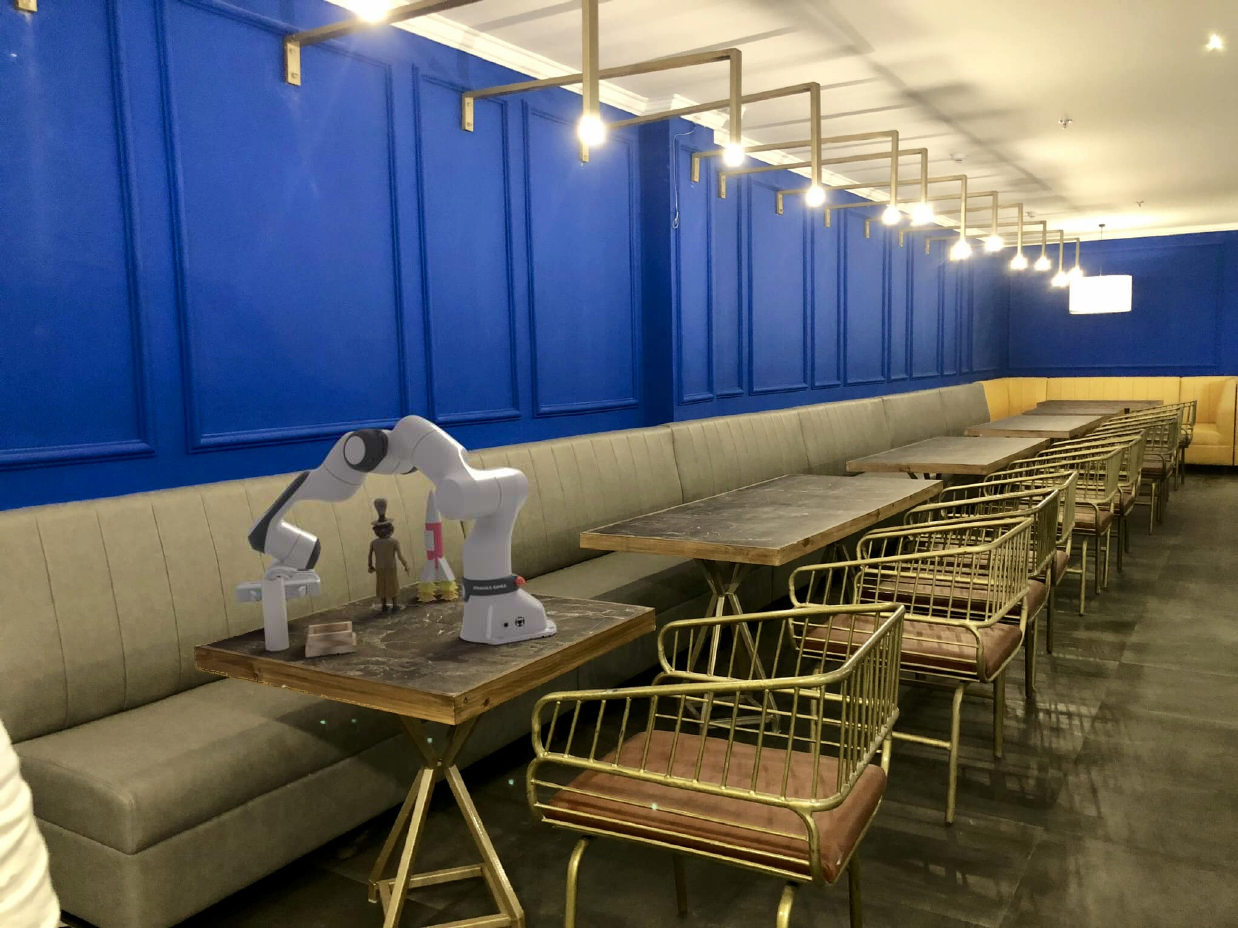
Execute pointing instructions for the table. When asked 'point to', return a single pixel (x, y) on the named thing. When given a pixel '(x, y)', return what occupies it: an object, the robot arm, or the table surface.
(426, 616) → the table surface
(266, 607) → the roll
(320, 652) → the holder
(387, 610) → the figurine
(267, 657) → the table surface
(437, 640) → the table surface
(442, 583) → the toy rocket
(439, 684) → the table surface
